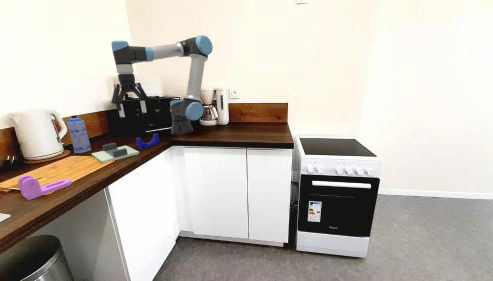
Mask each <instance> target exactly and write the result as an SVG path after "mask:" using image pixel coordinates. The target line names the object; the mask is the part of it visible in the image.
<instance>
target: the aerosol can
mask: <svg viewBox="0 0 493 281" xmlns="http://www.w3.org/2000/svg"><path fill="white" fill-rule="evenodd" d="M66 125H67V128H68V131H69V136H70V140H71V144H72V147H73V152H74V153H75V154H82V153H86V152H90V151H91V150H92V147H91V143H90V140H89V137H88V131H87V128H86V125H85V121H84V119H82V118H80V117H78V116H77V115H74V114H73V115H71V118H69V119H68V121H67V122H66Z"/></svg>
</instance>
